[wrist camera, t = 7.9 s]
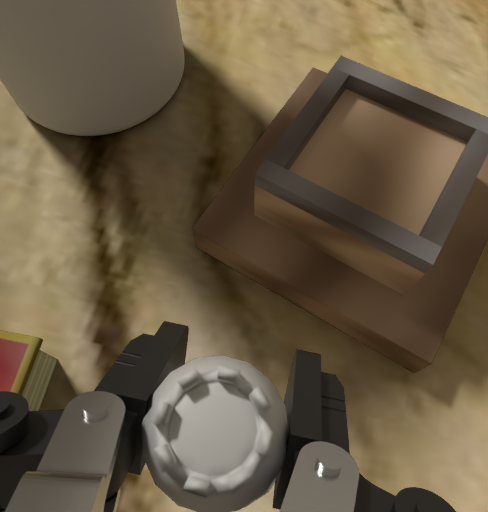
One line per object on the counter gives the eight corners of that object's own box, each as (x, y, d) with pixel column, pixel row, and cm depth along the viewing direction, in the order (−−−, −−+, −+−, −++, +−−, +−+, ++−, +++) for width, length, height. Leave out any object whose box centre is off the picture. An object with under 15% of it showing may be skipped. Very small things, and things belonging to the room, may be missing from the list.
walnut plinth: (196, 247, 27) (181, 188, 21) (308, 95, 32) (321, 12, 26) (414, 372, 24) (468, 344, 18) (502, 182, 29) (567, 110, 23)
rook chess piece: (306, 409, 17) (356, 376, 9) (254, 534, 15) (265, 610, 8) (201, 356, 18) (171, 286, 10) (140, 469, 16) (55, 483, 9)
